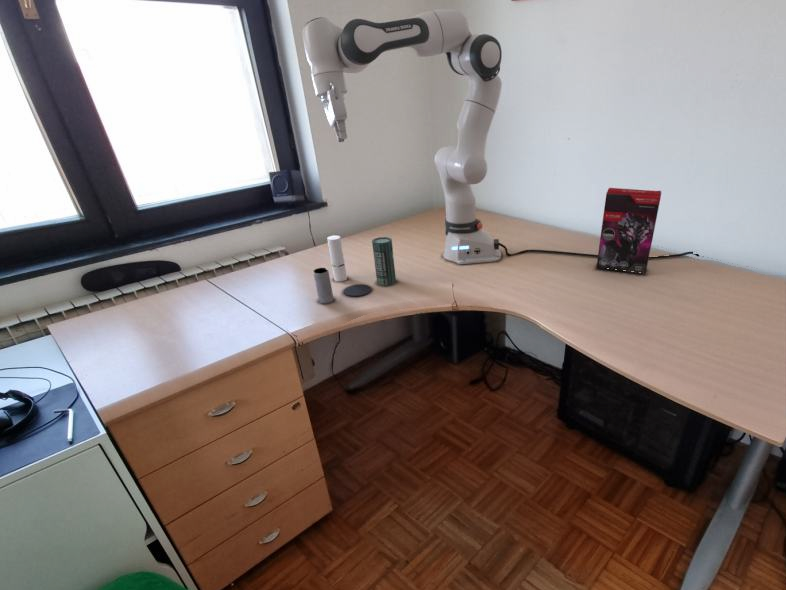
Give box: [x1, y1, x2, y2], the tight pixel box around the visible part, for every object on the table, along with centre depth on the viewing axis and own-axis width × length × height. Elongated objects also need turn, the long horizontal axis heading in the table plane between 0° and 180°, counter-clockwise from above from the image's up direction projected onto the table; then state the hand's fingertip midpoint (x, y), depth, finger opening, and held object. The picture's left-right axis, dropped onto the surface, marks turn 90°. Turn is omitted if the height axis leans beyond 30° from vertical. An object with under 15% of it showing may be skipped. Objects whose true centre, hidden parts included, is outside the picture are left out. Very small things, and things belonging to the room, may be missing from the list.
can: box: [371, 236, 397, 287], centre depth 153 cm, size 6×6×15 cm
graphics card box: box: [596, 187, 662, 275], centre depth 155 cm, size 17×7×27 cm, turn 68°
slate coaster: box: [343, 283, 372, 298], centre depth 151 cm, size 9×9×1 cm
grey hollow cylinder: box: [312, 267, 334, 304], centre depth 143 cm, size 4×4×10 cm
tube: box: [326, 235, 348, 282], centre depth 156 cm, size 4×4×15 cm
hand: (342, 140), depth 134 cm, fingers open, 8 cm apart
